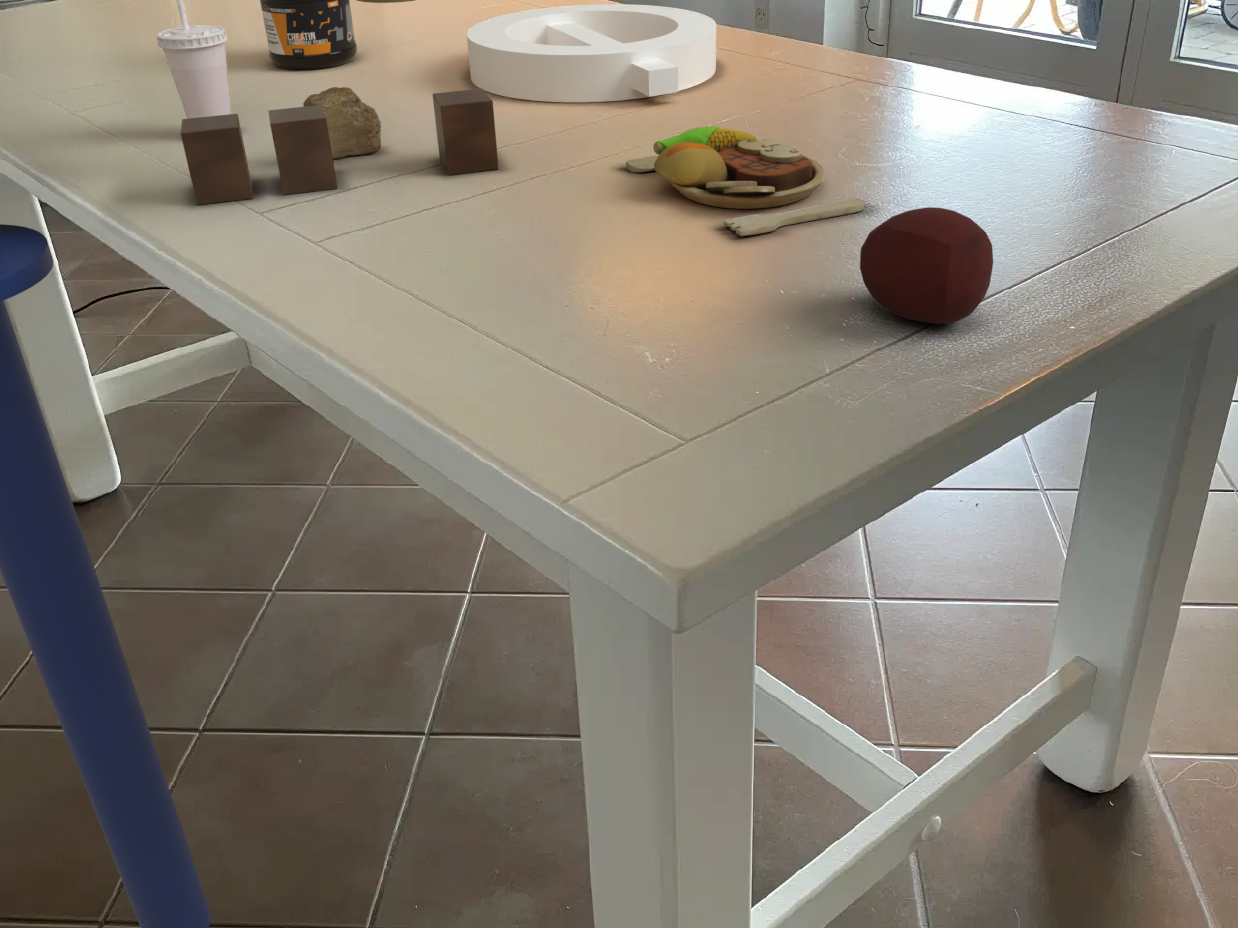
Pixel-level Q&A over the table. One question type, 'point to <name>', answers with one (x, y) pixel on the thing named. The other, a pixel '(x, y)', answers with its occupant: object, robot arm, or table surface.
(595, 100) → the white circle with bar
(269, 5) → the supplement container
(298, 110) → the block
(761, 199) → the toy food set
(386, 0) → the olive round-topped cone
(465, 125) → the block
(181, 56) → the smoothie
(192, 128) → the block
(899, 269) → the potato
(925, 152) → the table surface
